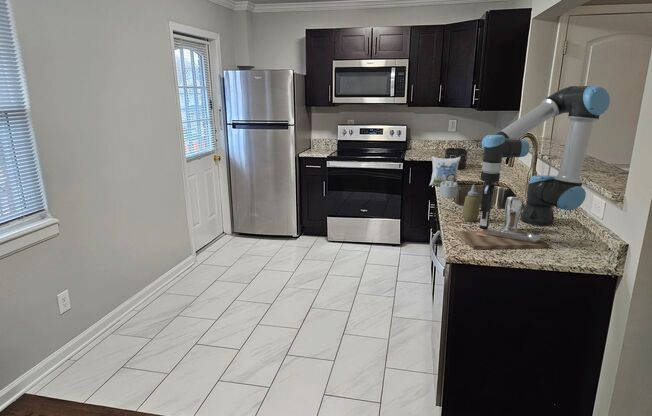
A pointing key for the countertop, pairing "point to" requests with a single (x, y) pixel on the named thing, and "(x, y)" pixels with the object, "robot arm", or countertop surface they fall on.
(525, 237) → the lever
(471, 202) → the squeeze bottle
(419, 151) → the countertop surface
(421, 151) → the countertop surface
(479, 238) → the lever board
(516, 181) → the countertop surface
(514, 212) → the beer glass
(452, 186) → the lumpy-topped squat cylinder
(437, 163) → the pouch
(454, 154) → the dark rounded-top box
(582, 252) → the countertop surface
